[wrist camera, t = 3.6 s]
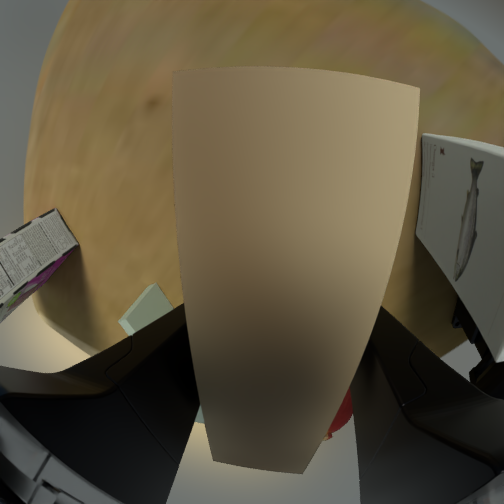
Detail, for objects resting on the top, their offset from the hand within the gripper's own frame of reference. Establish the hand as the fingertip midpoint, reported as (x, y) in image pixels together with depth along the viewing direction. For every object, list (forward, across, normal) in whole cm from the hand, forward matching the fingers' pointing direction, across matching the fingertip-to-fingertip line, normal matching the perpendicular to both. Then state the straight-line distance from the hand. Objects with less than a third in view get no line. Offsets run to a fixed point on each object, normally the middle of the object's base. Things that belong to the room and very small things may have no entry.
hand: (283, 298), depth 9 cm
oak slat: (+1, 0, 0) cm, 1 cm away
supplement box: (+11, -12, -1) cm, 17 cm away
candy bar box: (+11, +26, +3) cm, 29 cm away
